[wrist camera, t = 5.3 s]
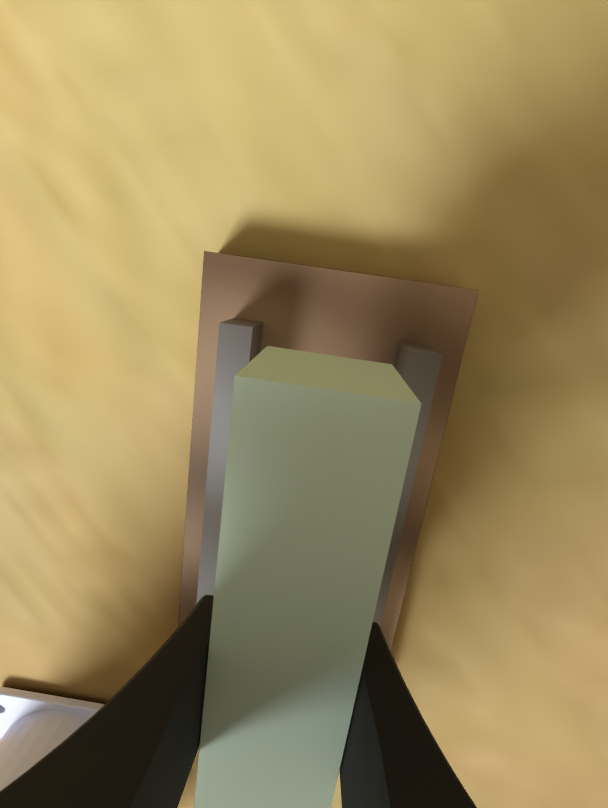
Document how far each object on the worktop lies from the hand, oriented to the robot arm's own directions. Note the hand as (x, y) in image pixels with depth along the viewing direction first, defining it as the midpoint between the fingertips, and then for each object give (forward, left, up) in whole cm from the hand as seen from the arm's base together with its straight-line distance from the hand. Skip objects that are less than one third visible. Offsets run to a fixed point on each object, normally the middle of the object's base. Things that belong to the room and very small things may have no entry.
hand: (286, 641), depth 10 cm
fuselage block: (0, 0, -2) cm, 2 cm away
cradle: (0, 0, -8) cm, 8 cm away
